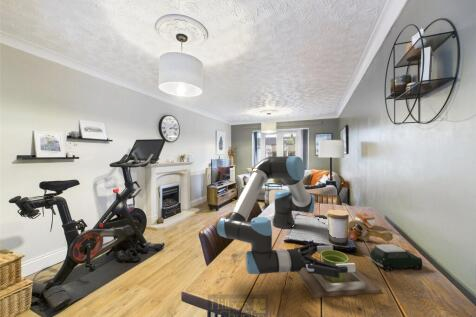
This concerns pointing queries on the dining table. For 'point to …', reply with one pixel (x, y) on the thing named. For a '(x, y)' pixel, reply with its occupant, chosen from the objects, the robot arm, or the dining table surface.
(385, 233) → the toy helicopter
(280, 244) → the dining table surface
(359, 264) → the dining table surface
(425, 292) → the dining table surface
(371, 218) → the lidded jar
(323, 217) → the smart home device
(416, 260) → the miniature car
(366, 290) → the jig plate
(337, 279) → the plant pot
